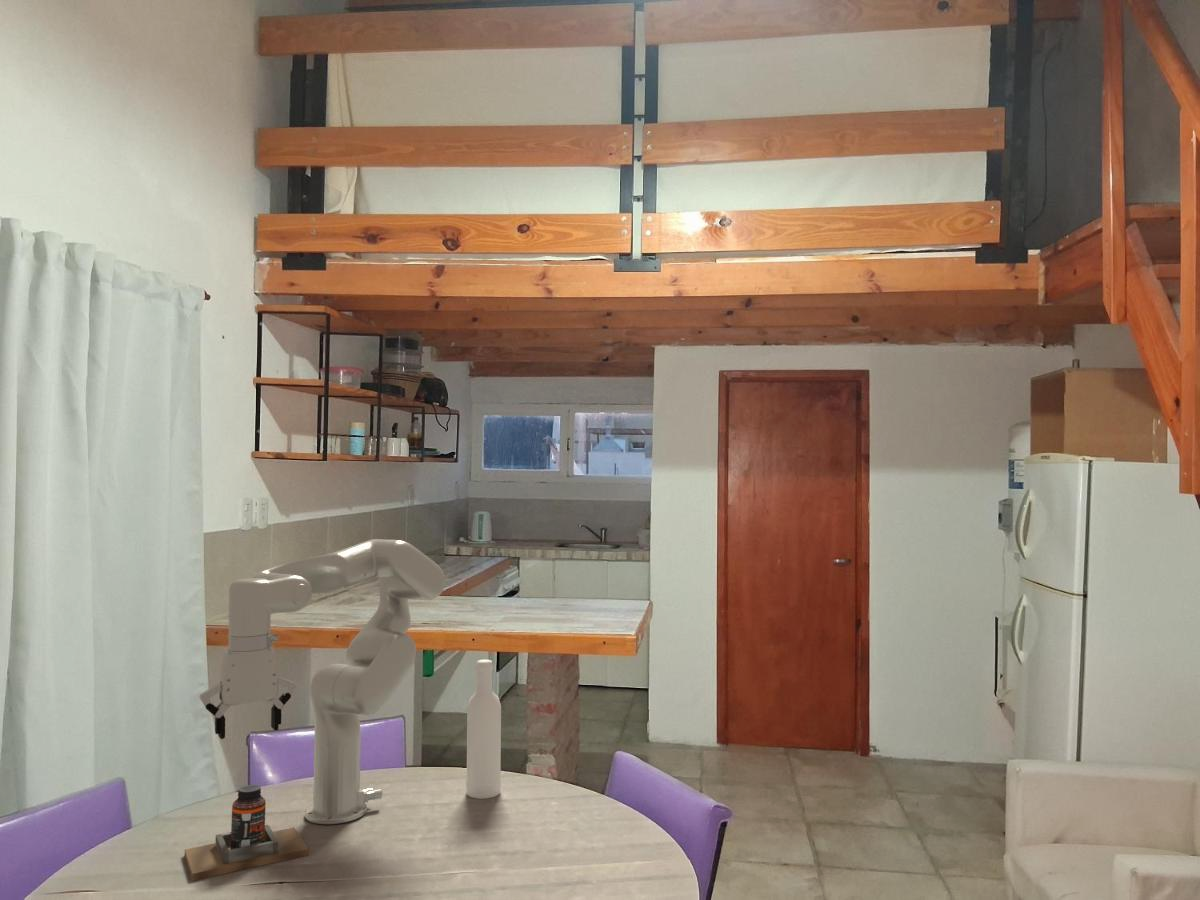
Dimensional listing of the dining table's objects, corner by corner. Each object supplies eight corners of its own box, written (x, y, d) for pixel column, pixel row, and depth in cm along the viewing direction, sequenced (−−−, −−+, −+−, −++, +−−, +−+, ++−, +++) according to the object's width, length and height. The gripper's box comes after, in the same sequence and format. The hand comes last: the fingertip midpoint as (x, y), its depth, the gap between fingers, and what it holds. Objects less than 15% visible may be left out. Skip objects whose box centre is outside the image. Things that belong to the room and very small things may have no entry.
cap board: (294, 833, 171) (294, 817, 171) (308, 855, 161) (308, 837, 161) (184, 855, 160) (184, 838, 161) (192, 880, 150) (192, 862, 150)
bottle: (508, 793, 194) (508, 660, 196) (480, 802, 188) (482, 665, 190) (486, 784, 200) (487, 656, 201) (459, 793, 194) (460, 660, 195)
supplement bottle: (252, 856, 157) (254, 794, 158) (223, 853, 159) (225, 792, 159) (270, 843, 163) (272, 783, 164) (243, 841, 164) (244, 781, 165)
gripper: (291, 635, 171) (290, 721, 171) (197, 645, 162) (196, 735, 161) (300, 641, 165) (299, 730, 165) (203, 651, 156) (202, 745, 155)
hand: (248, 732), depth 163 cm, fingers open, 9 cm apart
